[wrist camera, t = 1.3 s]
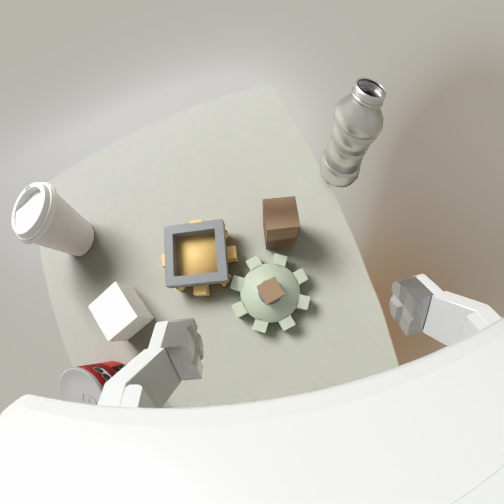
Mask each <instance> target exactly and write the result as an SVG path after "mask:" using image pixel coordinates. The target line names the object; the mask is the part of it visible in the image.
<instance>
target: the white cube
mask: <svg viewBox="0 0 504 504" xmlns="http://www.w3.org/2000/svg"><path fill="white" fill-rule="evenodd" d="M88 307H89V309H90V310H91V312H92V314H93V316H94V318H95V320H96V321H97V323H98V325H99V327H100V328H101V330H102V332H103V333H104V335H105V337H106V338H107V340H108V341H125V340H129V339H130V338H131V337H132V336H133V335H135V334H136V333H137V332H138V331H139V330H141V329H142V328H143V327H144V326H146V325H147V324H148V323H149V322H150V321H152V320H153V319H154V317H153V316H152V314H151V313H150V311H149V310H148V308H147V307H146V305H145V304H144V302H143V301H142V299H141V298H140V296H139V295H138V293H137V292H136V290H135V288H134V287H131V286H128V285H125V284H122V283H119V282H116V281H115V282H114V283H113V284H112V285H111V286H110V287H109V288H107V289H106V290H105V291H104V292H103V293H102V294H101V295H100V296H99V297H98V298H97V299H96V300H94V301H93V302H92V303H91V304H90V305H89V306H88Z"/></svg>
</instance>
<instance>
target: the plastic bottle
mask: <svg viewBox="0 0 504 504" xmlns="http://www.w3.org/2000/svg"><path fill="white" fill-rule="evenodd" d="M385 96H386V91H385V89H384V88H383V86H381V85H380V84H379V83H378V82H376V81H374V80H372V79H369V78H359V79H358V80H357V81H356V83H355V86H354V87H353V89H352V94H350V95H348V96H346V97H344V98H342V99H341V100H340V101H339V102H338V103H337V105H336V107H335V112H334V125H333V132H332V136H331V140H330V142H329V145H328V147H327V149H326V150H325V151H324V153H323V155H322V157H321V159H320V172H321V174H322V176H323V178H324V179H325V180H326V181H327V182H328V183H330V184H331V185H334V186H337V187H347V186H349V185H351V184H352V183H353V182H354V181H355V180H356V179H357V177H358V174H359V171H360V165H361V162H362V160H363V157H364V155H365V153H366V151H367V150H368V148H369V147H370V145H371V144H372V143H373V141H374V140H375V139H376V138H377V136H378V135H379V134H380V132H381V131H382V129H383V115H382V111H381V109H380V108H381V107H382V105H383V101H384V98H385Z"/></svg>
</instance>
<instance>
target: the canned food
mask: <svg viewBox="0 0 504 504" xmlns="http://www.w3.org/2000/svg"><path fill="white" fill-rule="evenodd" d="M124 366H126V365H124V364H121V363H119V362H115V361H110V362H104V363H98V364H91V365H85V366H78V367H73V368H69V369H67V370H65V371H64V372H63V373H62V375H61V377H60V380H59V392H60V396H61V399H62V401H69V402H76V403H84V404H93V405H97V404H98V401H99V399H100V396H101V393H102V390H103V387H104V385H105V383H106V382H107V381H108V380H109V379H110V378H112V377H113V376H114V375H115V374H116V373H117V372H119V371H120V370H121V369H122V368H123V367H124Z"/></svg>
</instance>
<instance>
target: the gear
mask: <svg viewBox="0 0 504 504" xmlns="http://www.w3.org/2000/svg"><path fill="white" fill-rule="evenodd" d="M286 261H287V256H284V255H280V254H277V253H275V255H274V258H273V262H272V263H267V264H262V263H261V261H260V259H259V257H258V256H257V255H256V256H254V257H252V258H250V259H248V260H247V261H246V265H247V267H248V268H249V270H250V272H249V273H248V274H247V275H246V276H245V278H243V277H239V276H236V275H234V276H233V279H232V282H231V285H230V288H231V289H232V290H234V291H238V292H240V296H241V301H239V302H237V303H236V304H234V305H232V308H233V310H234V312H235V314H236V315H237V317H238V318H240V317H242V316H244V315H246V314H248V313H249V314H250V315H251V316H252V317H254V318H255V321H254V325H253V328H252V329H253V330H256V331H259V332H263V333H265V332H266V329H267V326H268V323H271V322H278V323H279V325H280V327H281V329H282V330H283V331H285V330H287V329H289V328H290V327H292V326H294V325H296V324H295V322H294V320H293V319H292V317H291V314H292V313H293V311H294V310H295V309H300V310H303V311H306V310H307V309H308V305H309V302H310V298H311V297H309V296H305V295H302V294H300V287H299V285H301V284H303V283H305V282H306V281H307V280H308V277H307V276H306V274H305V272H304V270H303V269H302V268H300V269H299V270H297V271H295V272H293V273H292V272H291V271H290V270H289V269H287V268H286V267H285V264H286Z"/></svg>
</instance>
